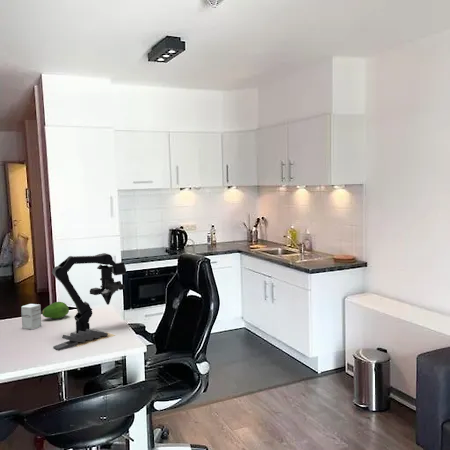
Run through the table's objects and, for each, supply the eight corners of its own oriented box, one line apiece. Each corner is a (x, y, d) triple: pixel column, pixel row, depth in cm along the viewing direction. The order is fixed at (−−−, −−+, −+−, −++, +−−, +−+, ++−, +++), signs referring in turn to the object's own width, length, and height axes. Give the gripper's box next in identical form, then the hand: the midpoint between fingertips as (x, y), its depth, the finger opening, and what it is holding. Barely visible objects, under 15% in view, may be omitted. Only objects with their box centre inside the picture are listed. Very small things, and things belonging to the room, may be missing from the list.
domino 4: (99, 338, 235) (83, 335, 228) (94, 336, 238) (77, 333, 231) (100, 335, 235) (84, 332, 228) (95, 333, 239) (78, 330, 232)
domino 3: (92, 340, 232) (75, 337, 225) (86, 338, 235) (69, 335, 228) (93, 337, 232) (76, 334, 225) (87, 335, 236) (70, 332, 229)
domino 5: (107, 336, 238) (90, 333, 231) (101, 334, 242) (85, 331, 235) (108, 333, 238) (91, 330, 231) (102, 331, 242) (86, 328, 235)
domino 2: (84, 342, 229) (67, 339, 222) (79, 340, 232) (61, 337, 225) (85, 339, 229) (68, 336, 222) (80, 337, 232) (62, 334, 225)
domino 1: (77, 344, 226) (58, 351, 219) (72, 342, 229) (53, 349, 222) (77, 341, 226) (58, 348, 219) (72, 339, 229) (53, 346, 222)
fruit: (44, 322, 269) (43, 305, 268) (41, 318, 277) (40, 302, 276) (70, 318, 276) (70, 302, 276) (67, 314, 285) (66, 298, 284)
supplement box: (21, 328, 258) (20, 306, 257) (31, 325, 265) (30, 303, 264) (32, 329, 255) (30, 307, 254) (42, 326, 262) (40, 304, 261)
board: (77, 347, 224) (77, 346, 224) (67, 344, 230) (67, 342, 230) (115, 336, 240) (115, 335, 240) (106, 333, 246) (106, 332, 246)
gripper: (99, 280, 241) (101, 310, 243) (129, 275, 255) (130, 303, 256) (88, 278, 249) (89, 307, 250) (117, 273, 263) (119, 300, 264)
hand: (108, 304), depth 255 cm, fingers closed
